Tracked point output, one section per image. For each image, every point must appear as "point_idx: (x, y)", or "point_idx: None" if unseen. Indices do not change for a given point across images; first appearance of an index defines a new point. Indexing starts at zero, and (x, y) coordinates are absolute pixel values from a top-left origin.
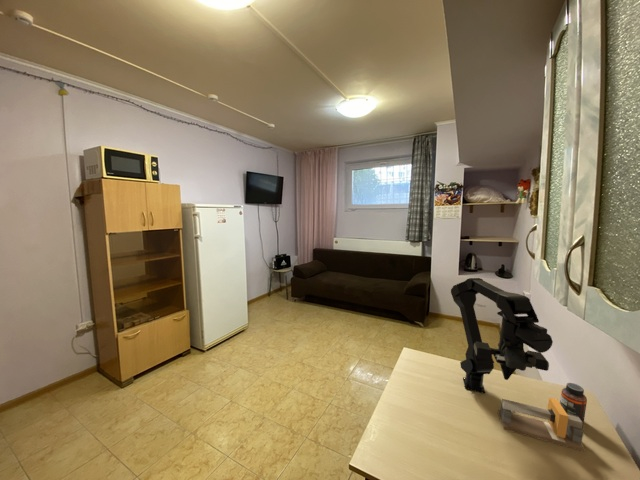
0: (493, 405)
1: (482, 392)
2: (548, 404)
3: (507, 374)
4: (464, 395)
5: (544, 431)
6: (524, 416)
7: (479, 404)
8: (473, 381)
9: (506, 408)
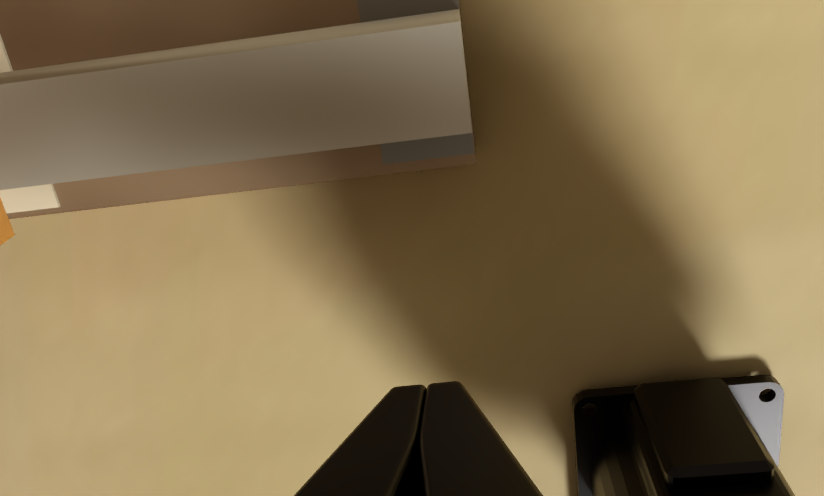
0: (507, 246)
1: (598, 390)
2: None
3: (404, 484)
4: (805, 260)
5: (47, 47)
6: (223, 192)
7: (657, 187)
8: (747, 449)
9: (417, 18)
